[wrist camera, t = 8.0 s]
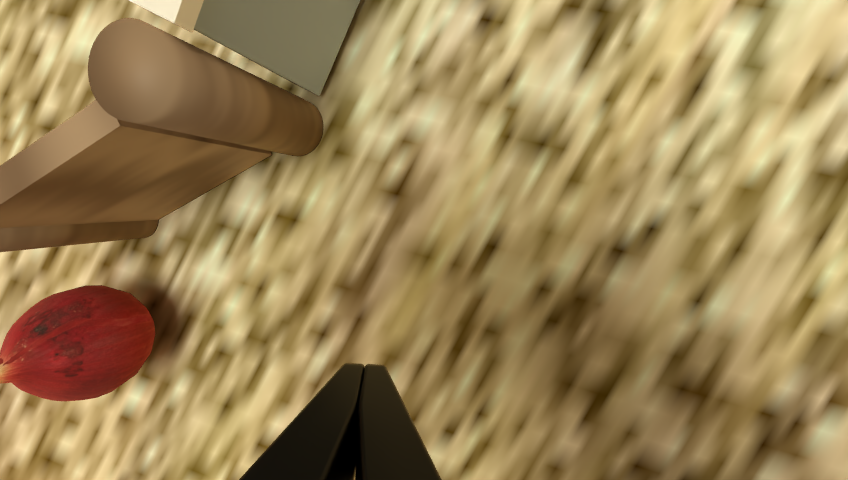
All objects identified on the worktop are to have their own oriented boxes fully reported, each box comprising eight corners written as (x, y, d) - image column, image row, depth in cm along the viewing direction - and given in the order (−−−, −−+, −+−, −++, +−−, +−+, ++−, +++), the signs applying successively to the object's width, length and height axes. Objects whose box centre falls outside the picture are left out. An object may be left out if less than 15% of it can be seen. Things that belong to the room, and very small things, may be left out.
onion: (132, 256, 25) (-38, 281, 17) (203, 312, 24) (59, 365, 17) (95, 329, 26) (-81, 383, 19) (161, 385, 26) (8, 466, 18)
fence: (308, 88, 22) (144, -2, 12) (332, 140, 22) (186, 91, 12) (116, 203, 25) (-136, 205, 15) (137, 248, 25) (-102, 279, 15)
